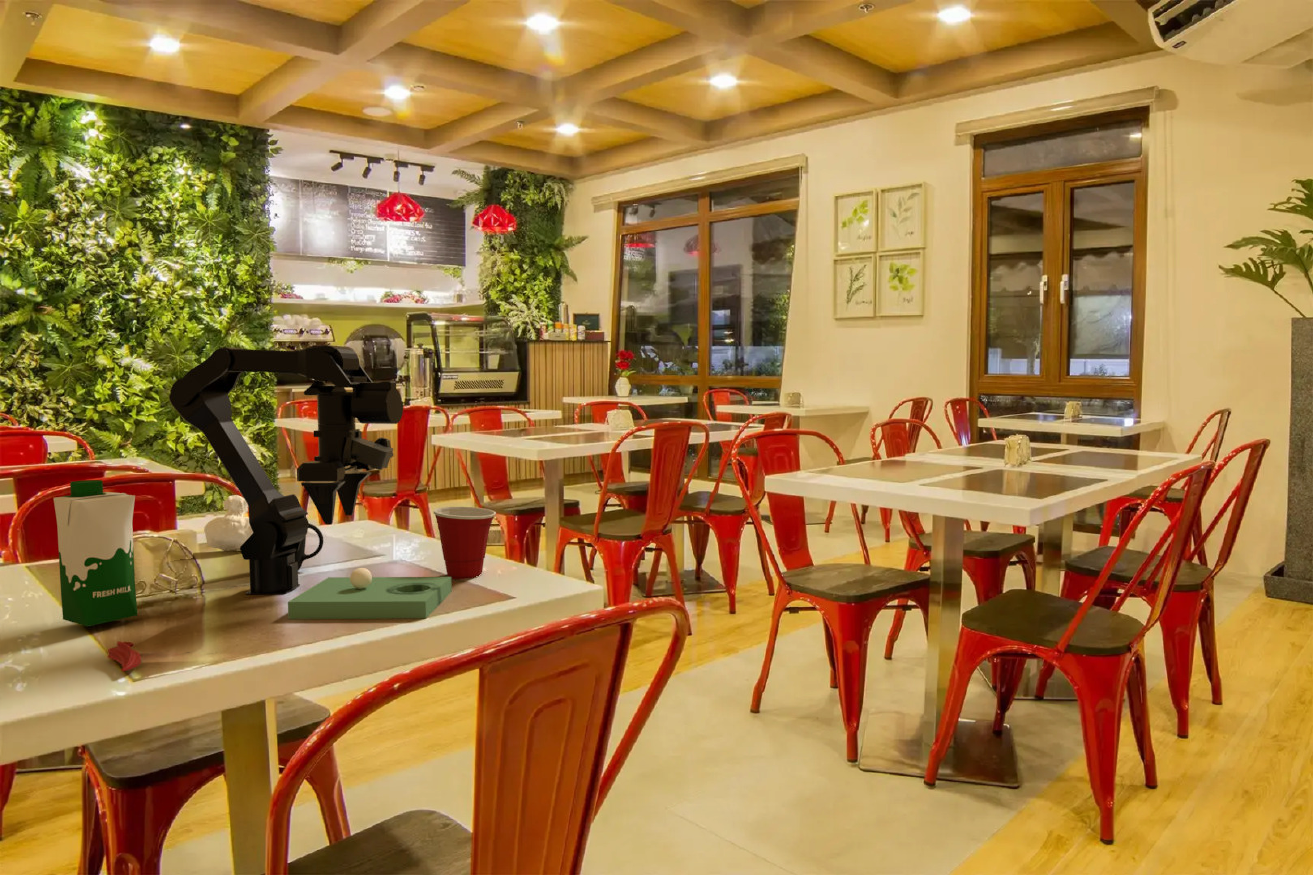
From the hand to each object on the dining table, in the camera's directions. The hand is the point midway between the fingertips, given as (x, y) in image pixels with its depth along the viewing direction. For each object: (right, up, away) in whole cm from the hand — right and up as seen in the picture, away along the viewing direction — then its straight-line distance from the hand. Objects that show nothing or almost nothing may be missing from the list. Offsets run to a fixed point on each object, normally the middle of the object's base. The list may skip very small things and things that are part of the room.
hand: (339, 519), depth 144 cm
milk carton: (-30, -13, -14) cm, 36 cm away
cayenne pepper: (-16, -15, -32) cm, 38 cm away
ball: (+6, -8, -7) cm, 13 cm away
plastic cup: (+18, -11, +12) cm, 24 cm away
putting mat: (+8, -12, -7) cm, 16 cm away
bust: (-35, -10, +37) cm, 52 cm away
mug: (-15, -11, +18) cm, 26 cm away
